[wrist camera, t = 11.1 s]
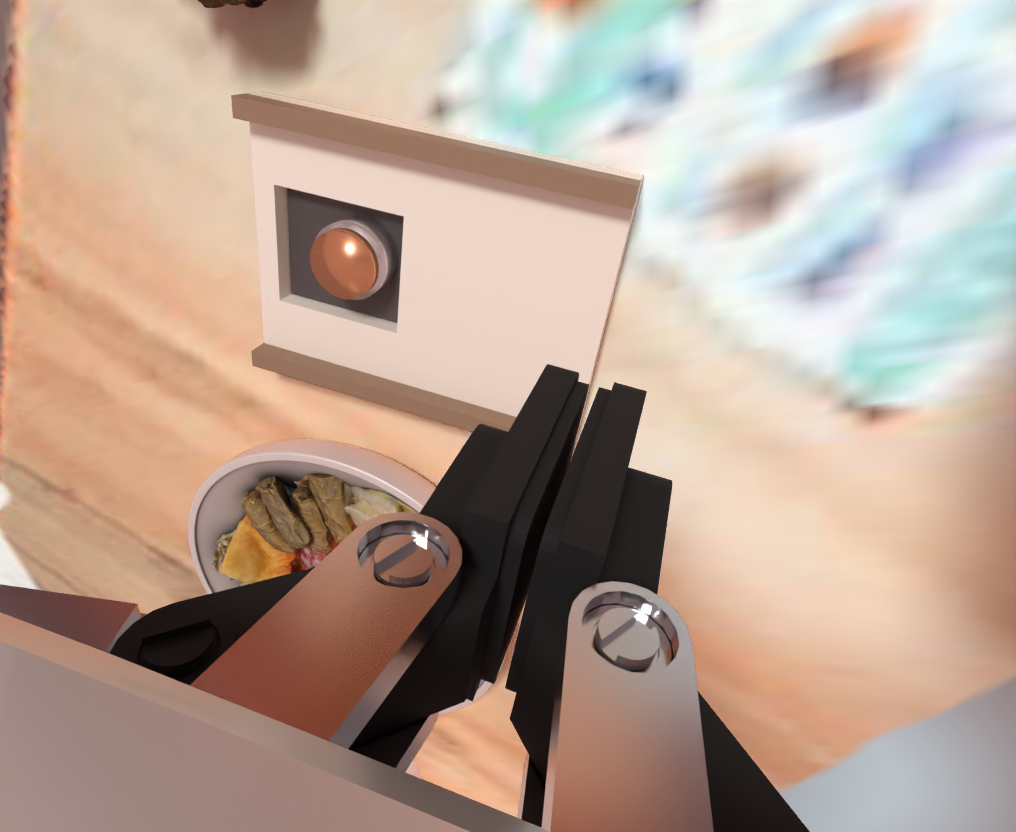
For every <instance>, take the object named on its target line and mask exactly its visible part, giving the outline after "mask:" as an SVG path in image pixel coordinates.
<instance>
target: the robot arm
mask: <svg viewBox="0 0 1016 832" xmlns="http://www.w3.org/2000/svg"><path fill="white" fill-rule="evenodd" d="M578 379H579V372H575V371H571V370H568V369H564V368H561V367H557V366H553V365H550V364H547V365H546V367H545V368H544V370H543V372H542V374H541V375H540V377H539V379H538V381H537V382H536V384H535V386H534V388H533V389H532V391H531V393H530V395H529V396H528V398H527V400H526V402H525V403H524V405H523V407H522V409H521V410H520V412H519V414H518V416H517V417H516V419H515V421H514V423H513V424H512V426H511V428H510V430H509V431H505V430H501V429H498V428H495V427H491V426H488V425H485V424H479V425H478V426H477V427H476V428H475V430H474V431H473V433H472V434H471V436H470V437H469V439H468V440H467V442H466V443H465V445H464V446H463V448H462V449H461V451H460V452H459V454H458V455H457V457H456V458H455V460H454V461H453V463H452V464H451V466H450V467H449V469H448V471H447V472H446V474H445V475H444V477H443V478H442V480H441V481H440V483H439V484H438V486H437V487H436V489H435V490H434V492H433V493H432V495H431V496H430V498H429V499H428V501H427V502H426V504H425V505H424V507H423V508H422V510H421V511H420V513H408V512H397V513H388V514H383V515H380V516H377V517H375V518H372V519H369V520H367V521H366V522H365V523H363V524H362V525H360V526H359V527H357V528H356V529H355V530H354V531H353V532H352V533H351V534H350V535H349V536H347V537H346V538H345V539H344V540H343V541H342V542H341V543H340V544H339V545H338V546H337V547H336V548H335V549H334V550H333V551H332V552H331V553H329V554H328V555H327V556H326V557H325V558H324V559H323V560H322V561H321V562H320V563H319V564H318V565H317V566H316V567H314V568H310V569H306V570H302V571H298V572H294V573H290V574H286V575H282V576H278V577H274V578H270V579H266V580H262V581H259V582H255V583H251V584H247V585H243V586H239V587H235V588H231V589H227V590H223V591H219V592H215V593H211V594H207V595H204V596H200V597H196V598H192V599H188V600H184V601H180V602H176V603H173V604H170V605H167V606H165V607H162V608H159V609H156V610H154V611H152V612H150V613H149V614H143V613H140V612H139V608H138V604H135V603H128V602H121V601H114V600H107V599H100V598H93V597H85V596H78V595H71V594H64V593H57V592H50V591H43V590H36V589H29V588H22V587H15V586H8V585H1V584H0V832H809V830H808V829H807V828H806V827H805V825H804V824H803V823H802V822H801V820H800V819H799V818H798V817H797V815H796V814H795V813H794V812H793V810H792V809H791V808H790V806H789V805H788V804H787V803H786V802H785V800H784V799H783V798H782V796H781V795H780V794H779V793H778V791H777V790H776V789H775V788H774V786H773V785H772V784H771V783H770V781H769V780H768V779H767V777H766V776H765V775H764V774H763V772H762V771H761V770H760V769H759V767H758V766H757V765H756V764H755V762H754V761H753V760H752V759H751V757H750V756H749V755H748V754H747V752H746V751H745V750H744V749H743V747H742V746H741V745H740V743H739V742H738V741H737V740H736V738H735V737H734V736H733V735H732V733H731V732H730V731H729V730H728V728H727V727H726V726H725V725H724V723H723V722H722V721H721V720H720V718H719V717H718V716H717V715H716V713H715V712H714V711H713V709H712V708H711V707H710V706H709V704H708V703H707V702H706V701H705V699H704V698H703V697H702V696H701V694H700V693H699V692H698V690H697V681H696V672H695V664H694V655H693V646H692V641H691V637H690V634H689V631H688V627H687V625H686V624H685V622H684V621H683V619H682V618H681V616H680V615H679V613H678V612H677V611H676V610H675V609H674V608H673V607H672V606H671V605H670V604H669V603H668V602H667V601H666V600H665V599H663V598H662V597H660V596H658V595H657V591H658V584H659V577H660V570H661V562H662V555H663V548H664V541H665V534H666V526H667V519H668V512H669V505H670V498H671V491H672V480H668V479H665V478H662V477H658V476H655V475H652V474H648V473H645V472H642V471H638V470H635V469H632V468H628V465H629V461H630V457H631V453H632V449H633V445H634V441H635V437H636V433H637V429H638V425H639V421H640V417H641V413H642V409H643V405H644V401H645V397H646V392H647V391H644V390H640V389H636V388H633V387H629V386H626V385H622V384H618V383H615V382H614V385H613V388H612V391H611V390H608V389H604V388H600V387H599V389H598V391H597V394H596V397H595V399H594V402H593V404H592V407H591V410H590V412H589V415H588V417H587V420H586V423H585V425H584V428H583V430H582V433H581V436H580V438H579V441H578V443H577V446H576V449H575V451H574V454H573V456H572V453H573V449H574V445H575V441H576V437H577V433H578V429H579V425H580V421H581V417H582V413H583V409H584V405H585V401H586V397H587V393H588V389H589V384H586V383H582V382H579V381H578ZM571 457H572V459H571ZM570 461H571V462H570ZM526 598H527V599H526ZM525 600H526V604H525V608H524V612H523V616H522V620H521V624H520V628H519V633H518V637H517V641H516V645H515V649H514V653H513V657H512V661H511V666H510V670H509V674H508V678H507V682H506V687H505V688H506V689H508V690H511V691H514V692H516V697H515V701H514V705H513V709H512V713H511V716H510V720H511V722H512V723H513V725H514V727H515V729H516V731H517V733H518V735H519V737H520V739H521V740H522V742H523V744H524V746H525V748H526V750H527V752H528V753H527V756H526V760H525V763H524V769H523V776H522V784H521V792H520V800H519V807H518V815H517V818H516V817H514V816H511V815H509V814H506V813H504V812H501V811H499V810H496V809H494V808H492V807H489V806H487V805H484V804H482V803H479V802H477V801H474V800H472V799H469V798H467V797H465V796H462V795H460V794H457V793H455V792H452V791H450V790H447V789H445V788H442V787H440V786H437V785H435V784H433V783H430V782H428V781H425V780H423V779H420V778H418V777H415V776H413V775H410V774H408V773H405V772H406V770H407V769H408V767H409V766H410V764H411V762H412V761H413V759H414V758H415V756H416V754H417V753H418V751H419V750H420V748H421V747H422V745H423V743H424V742H425V740H426V739H427V737H428V735H429V734H430V732H431V731H432V729H433V727H434V725H435V722H436V720H437V717H438V715H439V712H440V711H442V710H445V709H447V708H450V707H453V706H455V705H458V704H460V703H463V702H465V700H466V699H467V700H470V701H473V699H474V697H475V694H476V692H477V689H478V687H479V684H480V682H481V680H484V681H487V682H489V683H492V684H494V683H495V681H496V678H497V676H498V673H499V670H500V668H501V665H502V662H503V660H504V657H505V654H506V652H507V649H508V646H509V643H510V641H511V638H512V635H513V633H514V630H515V627H516V625H517V622H518V619H519V616H520V614H521V611H522V608H523V606H524V603H525Z"/></svg>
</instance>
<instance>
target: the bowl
mask: <svg viewBox="0 0 1016 832" xmlns="http://www.w3.org/2000/svg"><path fill="white" fill-rule="evenodd" d="M435 489H436V487H435V486H434V485H432V484H431V483H430V482H428V481H427V480H426V479H424V478H423V477H421V476H420V475H418V474H417V473H415V472H413V471H412V470H410V469H408V468H406V467H405V466H403V465H401V464H399V463H397V462H395V461H393V460H391V459H389V458H387V457H384V456H382V455H380V454H377V453H375V452H372V451H369V450H366V449H363V448H360V447H357V446H353V445H349V444H345V443H340V442H335V441H328V440H319V439H291V440H283V441H276V442H271V443H267V444H263V445H260V446H257V447H254V448H252V449H249V450H247V451H244V452H242V453H240V454H239V455H237V456H235V457H233V458H232V459H230V460H229V461H227V462H226V463H224V464H223V465H222V466H220V467H219V468H218V469H217V470H216V471H214V472H213V473H212V474H211V475H210V476H209V477H208V478H207V479H206V480H205V481H204V482H203V484H202V485H201V486H200V488H199V489H198V491H197V493H196V495H195V497H194V499H193V502H192V505H191V508H190V512H189V519H188V539H189V546H190V551H191V555H192V559H193V562H194V566H195V568H196V571H197V573H198V576H199V578H200V580H201V582H202V584H203V586H204V588H205V590H206V592H207V594H211V593H215V592H219V591H223V590H227V589H231V588H235V587H239V586H243V585H247V584H251V583H255V582H259V581H262V580H266V579H270V578H274V577H278V576H282V575H286V574H290V573H294V572H298V571H302V570H306V569H310V568H314V567H316V566H317V565H318V564H319V563H320V562H321V561H322V560H323V559H324V558H325V557H326V556H327V555H328V554H329V553H331V552H332V551H333V550H334V549H335V548H336V547H337V546H338V545H339V544H340V543H341V542H342V541H343V540H344V539H345V538H346V537H347V536H349V535H350V534H351V533H352V532H353V531H354V530H355V529H356V528H357V527H359V526H360V525H362V524H363V523H365V522H366V521H367V520H369V519H372V518H375V517H377V516H380V515H383V514H388V513H397V512H408V513H420V511H421V510H422V508H423V507H424V505H425V504H426V502H427V501H428V499H429V498H430V496H431V495H432V493H433V492H434V490H435ZM507 651H508V649H507ZM506 654H507V652H506ZM506 654H505V657H506ZM505 657H504V660H505ZM504 660H503V662H502V665H501V668H502V666H503V663H504ZM501 668H500V670H499V673H500V671H501ZM499 673H498V675H499ZM497 677H498V676H497ZM491 686H492V683H489V682H487V681H484V680H481V682H480V684H479V687H478V689H477V692H476V694H475V697H474V699H473V701H470V700H467V699H466V700H465V702H463V703H460V704H458V705H455V706H453V707H450V708H447V709H445V710H442V711H440V712H439V715H441V714H446V713H450V712H453V711H456V710H458V709H461V708H463V707H465V706H467V705H469V704H471V703H473V702H474V701H476V700H477V699H478V698H480V697H481V696H482V695H483V694H484V693H486V691H487V690H488V689H489V688H490V687H491Z"/></svg>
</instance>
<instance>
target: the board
mask: <svg viewBox="0 0 1016 832" xmlns="http://www.w3.org/2000/svg"><path fill="white" fill-rule="evenodd" d="M231 98H232V110H233V118H236V119H240V120H245V121H249V124H250V139H251V154H252V169H253V184H254V199H255V214H256V229H257V244H258V259H259V274H260V289H261V304H262V319H263V334H264V343H263V344H262V345H260V346H259V347H257V348H256V349H254V350H253V351H252V363H253V366H256V367H259V368H262V369H266V370H269V371H272V372H276V373H279V374H282V375H285V376H289V377H292V378H295V379H299V380H302V381H305V382H309V383H312V384H315V385H319V386H322V387H325V388H329V389H332V390H335V391H339V392H342V393H345V394H349V395H352V396H355V397H358V398H362V399H365V400H368V401H372V402H375V403H378V404H382V405H385V406H388V407H392V408H395V409H398V410H402V411H405V412H408V413H412V414H415V415H418V416H422V417H425V418H428V419H431V420H435V421H438V422H441V423H445V424H448V425H451V426H455V427H458V428H461V429H465V430H468V431H471V432H473V431H474V430H475V428H476V427H477V426H478V425H479V424H485V425H488V426H491V427H495V428H498V429H501V430H505V431H509V430H510V428H511V426H512V424H513V423H514V421H515V419H516V417H517V416H518V414H519V412H520V410H521V409H522V407H523V405H524V403H525V402H526V400H527V398H528V396H529V395H530V393H531V391H532V389H533V388H534V386H535V384H536V382H537V381H538V379H539V377H540V375H541V374H542V372H543V370H544V368H545V367H546V365H547V364H550V365H553V366H557V367H561V368H564V369H568V370H571V371H575V372H579V379H578V381H579V382H582V383H586V384H589V389H590V385H591V381H592V377H593V373H594V369H595V366H596V362H597V358H598V354H599V350H600V346H601V342H602V338H603V334H604V330H605V326H606V322H607V318H608V315H609V311H610V307H611V303H612V299H613V295H614V291H615V287H616V283H617V279H618V275H619V271H620V267H621V264H622V260H623V256H624V252H625V248H626V244H627V240H628V236H629V232H630V228H631V224H632V220H633V216H634V213H635V209H636V205H637V201H638V197H639V193H640V189H641V185H642V181H643V177H644V175H639V174H635V173H630V172H626V171H621V170H617V169H612V168H608V167H603V166H598V165H594V164H589V163H585V162H580V161H576V160H571V159H567V158H562V157H557V156H553V155H548V154H544V153H539V152H535V151H530V150H526V149H521V148H517V147H512V146H507V145H503V144H498V143H494V142H489V141H485V140H480V139H476V138H471V137H466V136H462V135H457V134H453V133H448V132H444V131H439V130H435V129H430V128H426V127H421V126H416V125H412V124H407V123H403V122H398V121H394V120H389V119H385V118H380V117H376V116H371V115H366V114H362V113H357V112H353V111H348V110H344V109H339V108H335V107H330V106H325V105H321V104H316V103H312V102H307V101H303V100H298V99H294V98H289V97H285V96H280V95H275V94H271V93H266V92H256V93H248V94H239V95H231ZM351 215H364V216H367V217H370V218H372V219H374V220H376V221H377V222H379V223H380V224H381V225H382V226H384V227H385V228H386V230H387V231H388V232H389V233H390V235H391V236H392V238H393V240H394V242H395V245H396V248H397V252H398V267H397V271H396V273H395V275H394V277H393V279H392V280H391V281H390V282H389V283H388V284H387V285H385V286H384V287H382V288H381V289H379V290H378V291H377V292H375V293H374V294H372V295H371V296H369V297H367V298H365V299H361V300H347V299H341V298H338V297H336V296H334V295H332V294H330V293H329V292H327V291H326V290H325V289H324V288H323V287H322V286H321V285H320V283H319V282H318V281H317V279H316V277H315V275H314V273H313V271H312V268H311V263H310V252H311V247H312V245H313V243H314V241H315V239H316V236H317V235H318V233H319V232H320V231H321V230H322V229H323V228H324V227H326V226H328V225H330V224H332V223H334V222H336V221H339V220H341V219H343V218H345V217H348V216H351ZM589 389H588V393H589ZM588 393H587V397H588ZM587 397H586V401H587ZM586 401H585V405H586ZM585 405H584V409H585ZM584 409H583V413H584ZM583 413H582V417H583ZM582 417H581V420H582ZM580 424H581V421H580ZM579 428H580V425H579ZM578 432H579V429H578ZM577 436H578V433H577ZM576 439H577V437H576ZM575 442H576V441H575Z"/></svg>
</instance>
